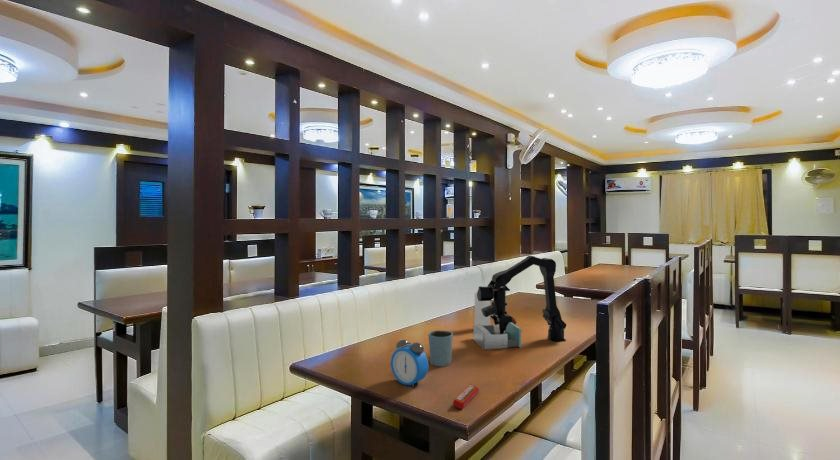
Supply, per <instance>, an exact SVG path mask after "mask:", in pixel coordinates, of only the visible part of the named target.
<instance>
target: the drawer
mask: <svg viewBox="0 0 840 460" xmlns="http://www.w3.org/2000/svg"><path fill="white" fill-rule="evenodd" d="M490 333H491V334H494V332H490ZM505 334H508V348H511V347H515V348H516V347H518V348H521V347H522V328H520V327H519V326H517V324H515V325H514V324H513V323H511V322H509V323H508V325H507V327H506V331H505Z"/></svg>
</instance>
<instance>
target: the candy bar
mask: <svg viewBox="0 0 840 460" xmlns="http://www.w3.org/2000/svg"><path fill="white" fill-rule="evenodd" d="M479 390H480V389H479V387H478V386H476V385H474V384H469V385H468V386H466V387H465V388H464V389H463V390H462V391H461V392H460V393H459V394H458V395H456V397H455V398H454V399H453V402H452V405H453V406H454V407H456V408H457V409H460V410H462V409H463V408H465V407H466V406H467V405H468V404H469V403H470V402H471V401H472V399H474V398H475V397H476V395H478V393H479Z"/></svg>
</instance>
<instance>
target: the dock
mask: <svg viewBox="0 0 840 460" xmlns="http://www.w3.org/2000/svg"><path fill="white" fill-rule="evenodd" d="M494 325H495V324H490V325H481V324H475V323H474V325H473V326H472V327H473V331H472V334H473V340H474V341H475V342H476V343H477V344H478V345H479V346H480V348H482V350H495V349H496V350H498V349H508V348H509V347H508V334H491V333H490V332H494Z"/></svg>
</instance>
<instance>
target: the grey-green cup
mask: <svg viewBox="0 0 840 460" xmlns="http://www.w3.org/2000/svg"><path fill="white" fill-rule="evenodd" d="M453 336H454V333H453V332H451V331H448V330H433V331H430V332H428V336H427V337H428V345H429V362H430V364H431V365H433V366H435V367H448V366H450V365H451V364H452V353H453V351H452V350H453Z"/></svg>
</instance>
